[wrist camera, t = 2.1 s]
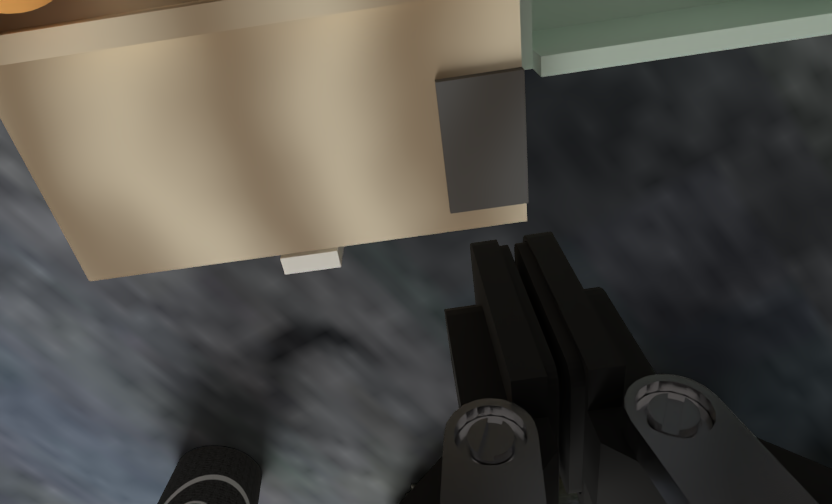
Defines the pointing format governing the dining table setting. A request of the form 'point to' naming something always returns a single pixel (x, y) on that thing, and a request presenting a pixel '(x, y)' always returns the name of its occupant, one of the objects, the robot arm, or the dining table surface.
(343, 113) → the beige flat panel
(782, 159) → the dining table surface
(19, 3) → the orange ball
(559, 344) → the robot arm
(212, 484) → the coffee cup
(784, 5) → the bin
